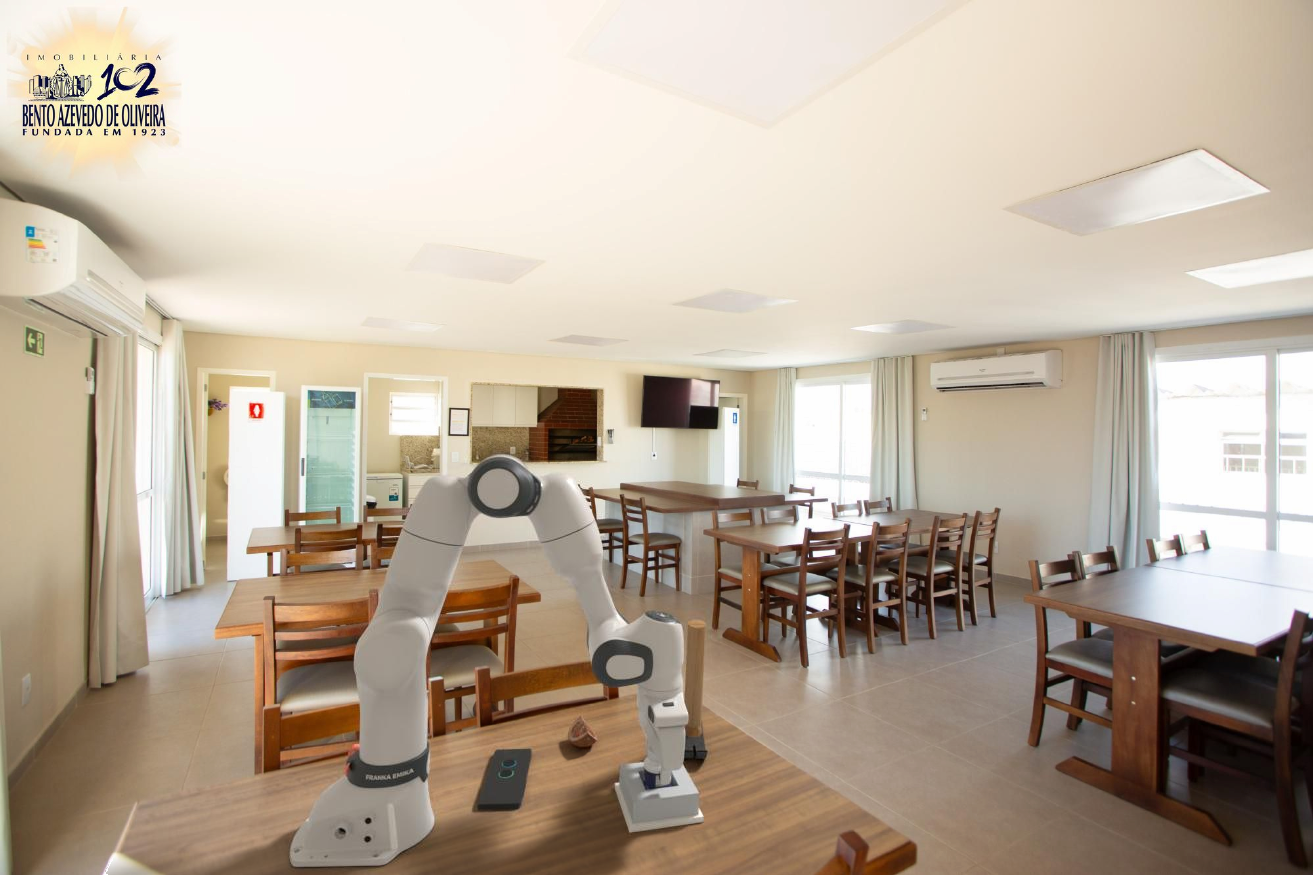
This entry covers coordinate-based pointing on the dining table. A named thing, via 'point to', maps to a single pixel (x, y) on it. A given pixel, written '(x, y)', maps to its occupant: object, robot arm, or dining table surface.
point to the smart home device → (505, 780)
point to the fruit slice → (581, 733)
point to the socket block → (657, 800)
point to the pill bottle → (652, 772)
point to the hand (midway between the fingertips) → (657, 768)
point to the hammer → (695, 690)
